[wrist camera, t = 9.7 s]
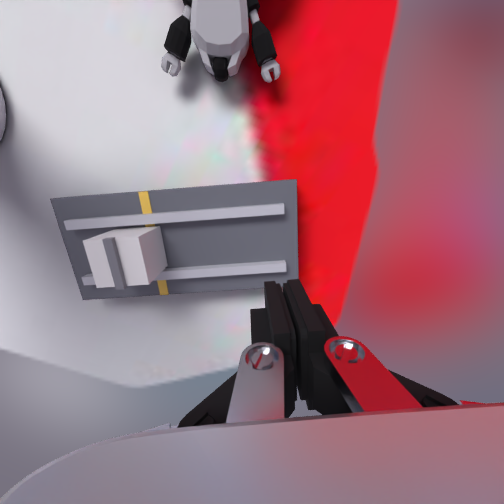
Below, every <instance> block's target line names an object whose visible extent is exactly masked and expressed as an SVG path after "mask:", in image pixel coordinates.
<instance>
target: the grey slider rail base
mask: <svg viewBox="0 0 504 504" xmlns="http://www.w3.org/2000/svg"><path fill="white" fill-rule="evenodd" d="M50 200H51V203H52V206H53V209H54V212H55V215H56V218H57V221H58V225H59V228H60V231H61V234H62V237H63V240H64V243H65V246H66V249H67V252H68V255H69V258H70V261H71V264H72V268H73V271H74V274H75V277H76V280H77V283H78V286H79V289H80V292H81V295H82V298H83V300H90V299H105V298H120V297H135V296H150V295H169V294H180V293H195V292H210V291H225V290H240V289H255V288H264V282H265V281H275V282H276V284H277V283H280V285H281V287H283V283H287V280H291V279H298V227H297V179H291V180H278V181H265V182H253V183H240V184H227V185H214V186H202V187H189V188H176V189H164V190H151V191H138V192H126V193H113V194H100V195H87V196H75V197H64V198H53V199H50ZM152 226H160V229H161V234H162V239H163V244H164V249H165V254H166V259H167V264H168V266H167V267H166V268H165V269H164V270H163V271H162V272H161V273H160V274H159V275H158V276H157V277H156V278H155V279H154V280H153V281H152V282H151V283H150V284H148V285H134V286H128V287H127V288H125V289H122V290H116V288H115V287H104V288H97V287H96V284H95V281H94V277H93V274H92V271H91V267H90V264H89V261H88V257H87V254H86V251H85V247H84V244H83V240H86V239H89V238H92V237H95V236H97V235H100V234H103V233H106V232H108V231H111V230H114V229H125V228H138V227H152Z"/></svg>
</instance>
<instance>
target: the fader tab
mask: <svg viewBox="0 0 504 504" xmlns="http://www.w3.org/2000/svg"><path fill="white" fill-rule="evenodd" d="M83 244H84V247H85V251H86V254H87V257H88V261H89V264H90V267H91V271H92V274H93V277H94V281H95V284H96V287H97V288H104V287H115V288H116V290H122V289H125V288H127V287H128V286H134V285H148V284H150V283H151V282H152V281H153V280H154V279H155V278H156V277H157V276H158V275H159V274H160V273H161V272H162V271H163V270H164V269H165V268H166V267H167V266H168V264H167V259H166V254H165V249H164V244H163V239H162V234H161V229H160V226H152V227H138V228H125V229H114V230H111V231H108V232H106V233H103V234H100V235H97V236H95V237H92V238H89V239H86V240H83Z"/></svg>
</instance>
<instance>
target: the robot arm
mask: <svg viewBox="0 0 504 504" xmlns="http://www.w3.org/2000/svg"><path fill="white" fill-rule="evenodd" d="M5 123H6V109H5V102H4V98H3V94H2V91H1V88H0V141H1V139H2V136H3V133H4V130H5ZM264 293H265V308H260V309H250V313H251V340H252V345H250V346H248V347H247V348H246V349H245V350H244V351H243V352H242V355H241V358H240V362H239V367H238V371H237V372H236V373H235V374H234V375H233V376H231V377H230V378H229V379H228V380H227V381H226V382H224V383H223V384H222V385H221V386H220V387H218V388H217V389H216V390H215V391H214V392H213V393H211V394H210V395H209V396H208V397H207V398H206V399H204V400H203V401H202V402H201V403H200V404H199V405H197V406H196V407H195V408H194V409H193V410H192V411H190V412H189V413H188V414H187V415H186V416H185V417H184V418H183V419H182V420H181V421H180V423H179V425H175V426H172V427H171V425H170V423H167V424H164V425H161V426H158V427H154V428H151V429H148V430H145V431H141V432H138V433H133V434H128V435H123V436H119V437H115V438H110V439H107V440H103V441H100V442H97V443H94V444H91V445H88V446H85V447H82V448H80V449H78V450H76V451H73V452H71V453H69V454H67V455H64V456H62V457H60V458H57V459H56V460H54V461H52V462H50V463H48V464H46V465H44V466H43V467H41V468H39V469H38V470H36V471H34V472H33V473H31V474H30V475H28V476H27V477H25V478H24V479H23V480H21V481H20V482H19V483H17V484H16V485H15V486H14V487H12V488H11V489H10V490H9V491H8V492H7V493H6V494H5V495H4V496H3V497H2V498H0V504H504V402H500V403H479V402H470V401H463V400H460V401H459V404H457V403H456V402H455V401H453V400H452V399H450V398H448V397H447V396H445V395H443V394H441V393H438V392H436V391H434V390H432V389H429V388H427V387H425V386H423V385H420V384H418V383H416V382H414V381H412V380H409V379H407V378H405V377H403V376H401V375H399V374H397V373H394V372H392V371H390V370H388V369H387V368H385V366H384V365H383V364H382V363H381V362H380V361H379V360H378V359H377V358H376V357H375V355H374V354H373V353H372V352H371V351H370V350H369V349H368V348H367V347H366V346H365V345H364V344H362V343H361V342H359V341H358V340H355V339H353V338H350V337H344V336H338V334H337V332H336V330H335V329H334V327H333V325H332V324H331V322H330V320H329V318H328V317H327V315H326V313H325V312H324V310H323V308H322V306H321V305H320V304H312V303H311V302H310V300H309V298H308V296H307V294H306V292H305V290H304V288H303V286H302V284H301V282H300V280H299V279H291V280H287V283H283V291H282V288H281V285H280V283H277V284H276V282H275V281H265V282H264ZM297 387H298V391H299V396H300V399H301V400H306V403H307V406H308V410H317V411H318V412H320V413H321V414H322V415H319V416H306V417H294V418H289V416H290V415H291V414H292V412H293V411H294V410H295V401H296V400H297Z"/></svg>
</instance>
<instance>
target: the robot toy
mask: <svg viewBox="0 0 504 504" xmlns="http://www.w3.org/2000/svg"><path fill="white" fill-rule="evenodd" d="M183 3H184V5H185V8H184V11H183V14H182V16H180V17H179V18H177V19H176V20H175V21H174V22H173V23H172V24H171V25H170V28H169V31H168V34H167V38H166V41H165V44H164V47H165V49H166V50H167V51H168V52H167V53H166V54H165V55H164V56H163V57H162V64H161V67H162V69H163V70H164V71H165V72H166V73H168V70H169V67H170V65H172V66H171V70H170V72H169V74H170V75H171V76H177V75H178V73H179V72H180V70H181V64H180V60H181V61H183V62H185V60H186V57H187V54H188V51H189V48H190V45H191V34H192V37H193V41H194V43H195V45H196V47H197V49H198V51H199V52H200V54H201V57H202V61H203V63H204V65H205V67H206V69H207V71H208V72H210V73H211V74H213V75H214V76H215V79H216V80H218V81H220V82H224V81H226V80H227V79H228V73H229V76H230V77H231V76H233V75H235V74H237V73H238V70H239V67H240V64H241V61H242V60H243V58H244V57H245V56H246V54H247V51H248V48H249V26H248V18H249V17H250V19H251V23H252V41H251V45H252V48H253V51H254V54H255V57H256V60H257V63H258V66H259V67H261V66H262V70H261V75H262V77H263V79H264V80H265V81H266V82H269V83H270V82H272V79H271V76H270V73H269V72H271V71H273V74H274V78H275V80H276V79H278V78H279V76H280V74H281V73H280V65H279V64H278V63H277V62H276V61H275V58H276V56H277V54H276V51H275V47H274V44H273V40H272V37H271V34H270V31H269V30H268V29H267V28H266V26H265V25H264V24H263V23H262V22H261V21H260V20H259V16H258V10H259V7H260V5H259V2H258V0H183ZM190 22H191V23H190ZM211 63H212V64H213V67H212V64H211ZM228 65H229V66H228Z"/></svg>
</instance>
